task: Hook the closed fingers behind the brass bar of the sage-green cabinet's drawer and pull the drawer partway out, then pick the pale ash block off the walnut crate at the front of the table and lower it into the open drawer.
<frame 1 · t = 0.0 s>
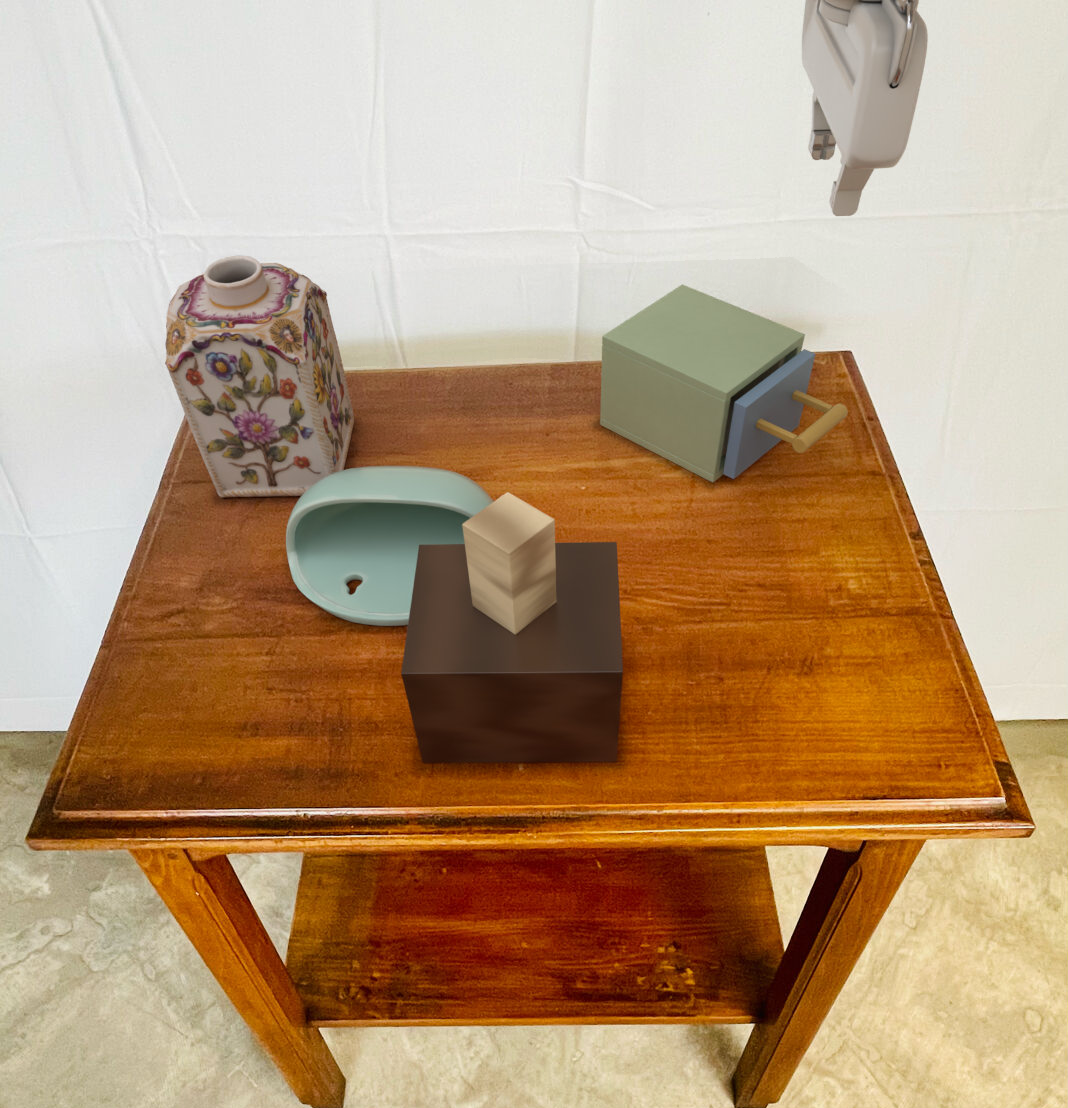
hand: (830, 182, 69), 22 cm above the table, tool pointing down, fingers open, 8 cm apart
drawer: (740, 401, 81), point 5 cm above the table, slide at 0.5 cm
planter: (400, 559, 78), on the table
decorative jar: (289, 461, 86), on the table
block: (514, 604, 60), point 10 cm above the table, touching crate
crate: (521, 697, 68), on the table
cabinet: (692, 424, 87), on the table
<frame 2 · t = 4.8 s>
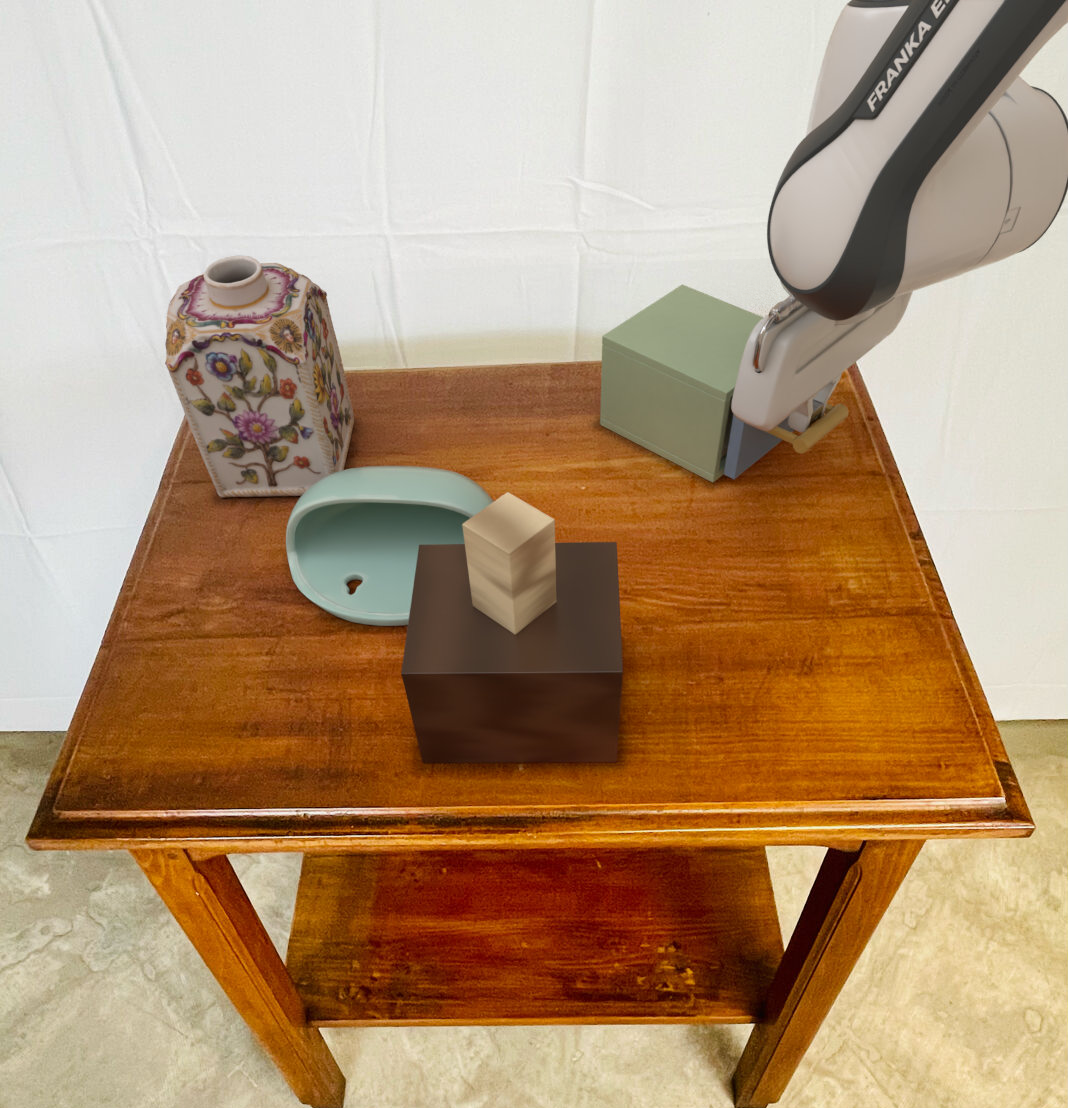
hand: (804, 422, 78), 5 cm above the table, tool pointing down, fingers closed, pressing on drawer
drawer: (741, 401, 81), point 5 cm above the table, slide at 0.6 cm, touching gripper
everything else where it was.
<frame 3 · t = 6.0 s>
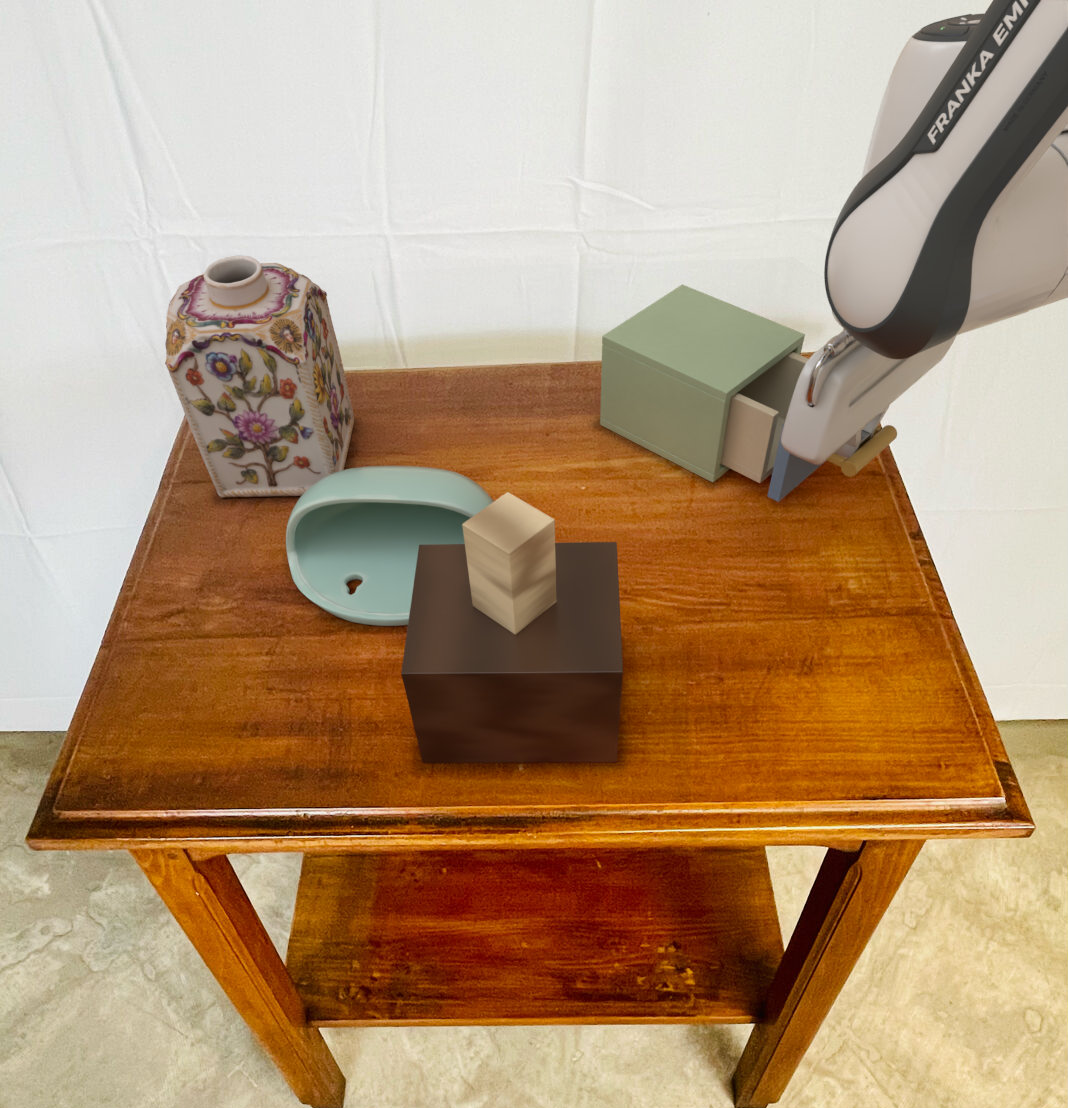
hand: (850, 452, 77), 4 cm above the table, tool pointing down, fingers closed, pressing on drawer
drawer: (785, 422, 79), point 5 cm above the table, slide at 5.3 cm, touching gripper
everything else where it was.
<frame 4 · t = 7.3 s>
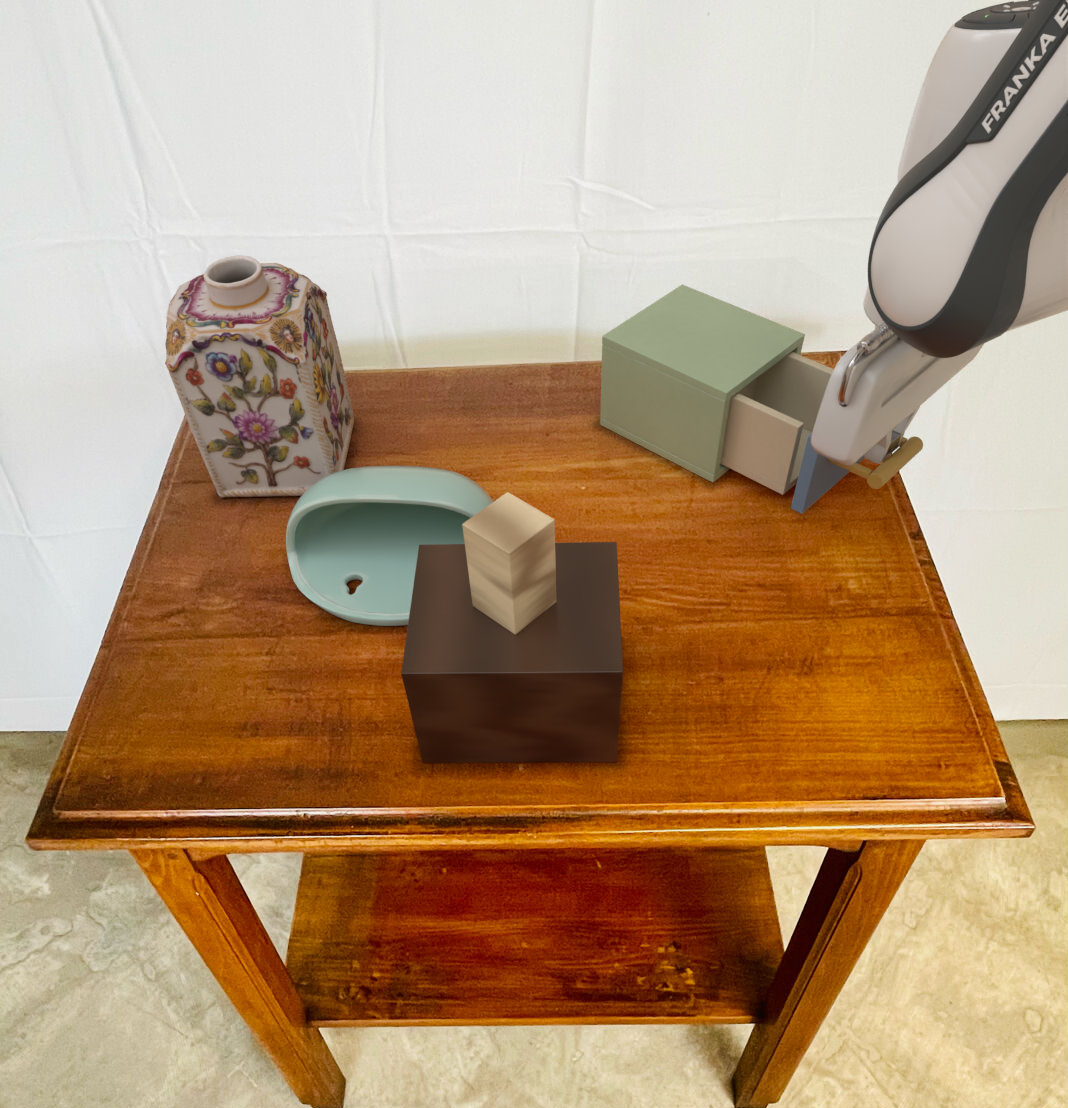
hand: (880, 453, 75), 5 cm above the table, tool pointing down, fingers closed
drawer: (808, 433, 78), point 5 cm above the table, slide at 7.7 cm
everything else where it was.
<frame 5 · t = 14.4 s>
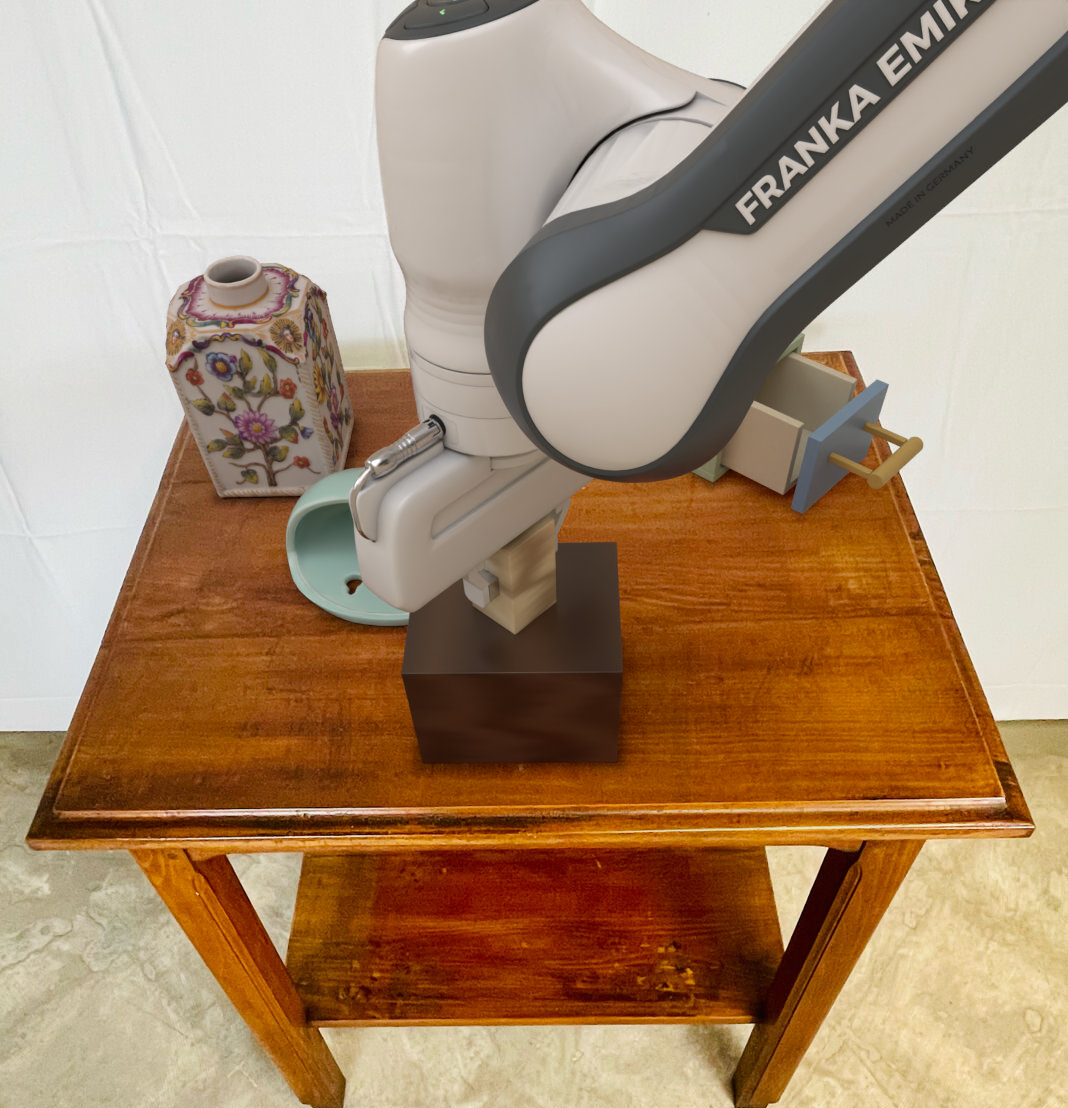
hand: (512, 575, 58), 13 cm above the table, tool pointing down, fingers closed on block, 4 cm apart
block: (514, 604, 60), point 10 cm above the table, touching crate, gripper
everything else where it was.
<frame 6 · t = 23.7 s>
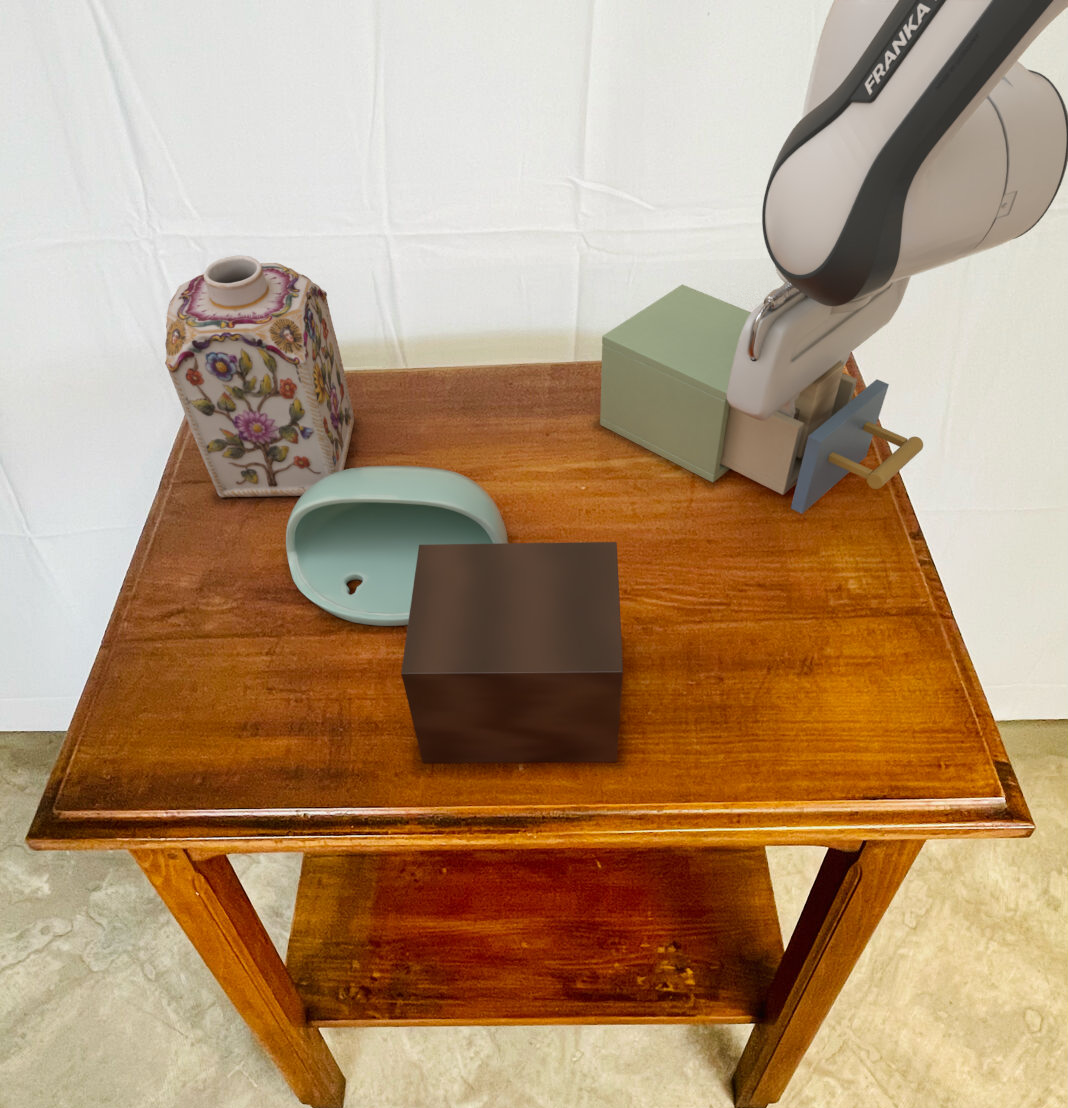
hand: (800, 413, 77), 6 cm above the table, tool pointing down, fingers closed on block, 4 cm apart
drawer: (808, 433, 78), point 5 cm above the table, slide at 7.7 cm, touching gripper
block: (793, 438, 80), point 4 cm above the table, touching gripper
everything else where it was.
when the fingers open (8 cm above the table, at t = 34.3 s): block drops 4 cm, resting on drawer.
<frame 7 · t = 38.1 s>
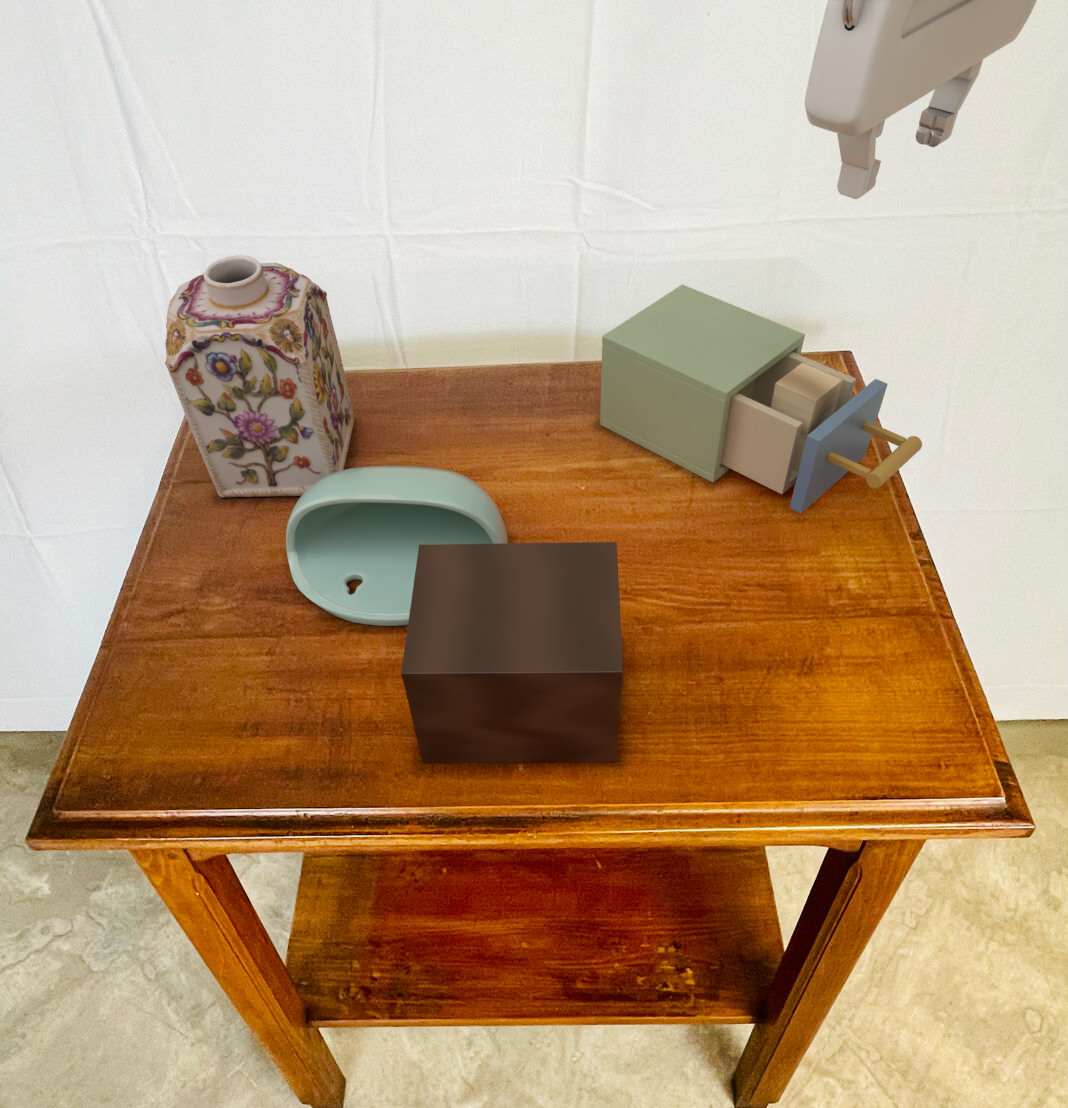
hand: (894, 166, 58), 27 cm above the table, tool pointing down, fingers open, 8 cm apart
drawer: (807, 432, 78), point 5 cm above the table, slide at 7.6 cm, touching block
block: (792, 452, 81), point 2 cm above the table, touching drawer
everything else where it was.
at the end: drawer slide at 7.6 cm; block inside the target area in the drawer (0.2 cm from its centre), point 2.0 cm above the cabinet's base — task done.
